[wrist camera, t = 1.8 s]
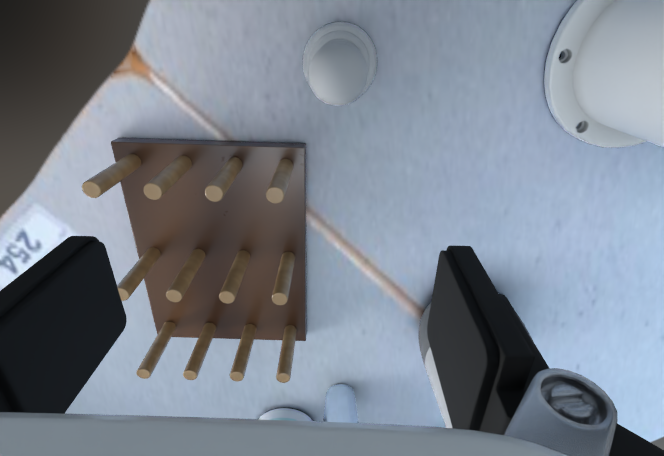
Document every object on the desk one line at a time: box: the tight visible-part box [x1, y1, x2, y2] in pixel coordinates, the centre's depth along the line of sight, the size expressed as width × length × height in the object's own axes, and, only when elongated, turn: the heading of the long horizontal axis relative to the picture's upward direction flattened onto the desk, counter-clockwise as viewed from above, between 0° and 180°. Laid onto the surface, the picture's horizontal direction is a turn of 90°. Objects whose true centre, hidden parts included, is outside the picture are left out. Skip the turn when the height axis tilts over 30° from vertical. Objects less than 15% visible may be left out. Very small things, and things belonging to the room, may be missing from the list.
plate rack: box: [82, 138, 306, 383], centre depth 32 cm, size 15×20×7 cm
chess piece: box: [303, 22, 377, 106], centre depth 24 cm, size 5×5×9 cm
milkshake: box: [323, 384, 359, 423], centre depth 40 cm, size 5×5×10 cm
